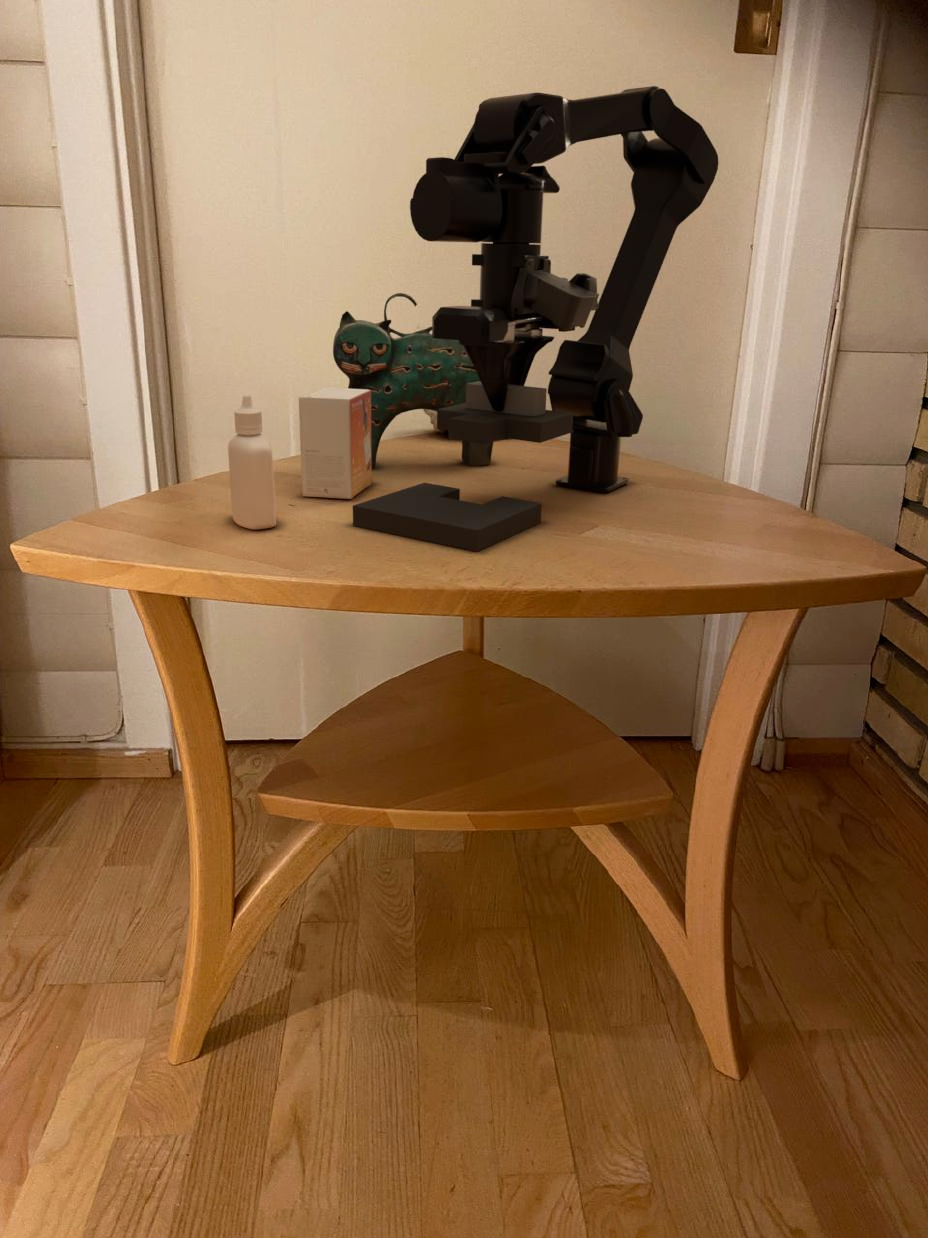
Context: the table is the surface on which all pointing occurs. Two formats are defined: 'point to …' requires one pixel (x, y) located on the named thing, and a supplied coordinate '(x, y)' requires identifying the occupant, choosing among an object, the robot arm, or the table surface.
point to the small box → (335, 442)
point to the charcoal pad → (446, 516)
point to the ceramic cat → (405, 374)
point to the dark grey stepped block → (504, 417)
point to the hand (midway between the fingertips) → (504, 408)
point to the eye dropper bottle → (251, 471)
